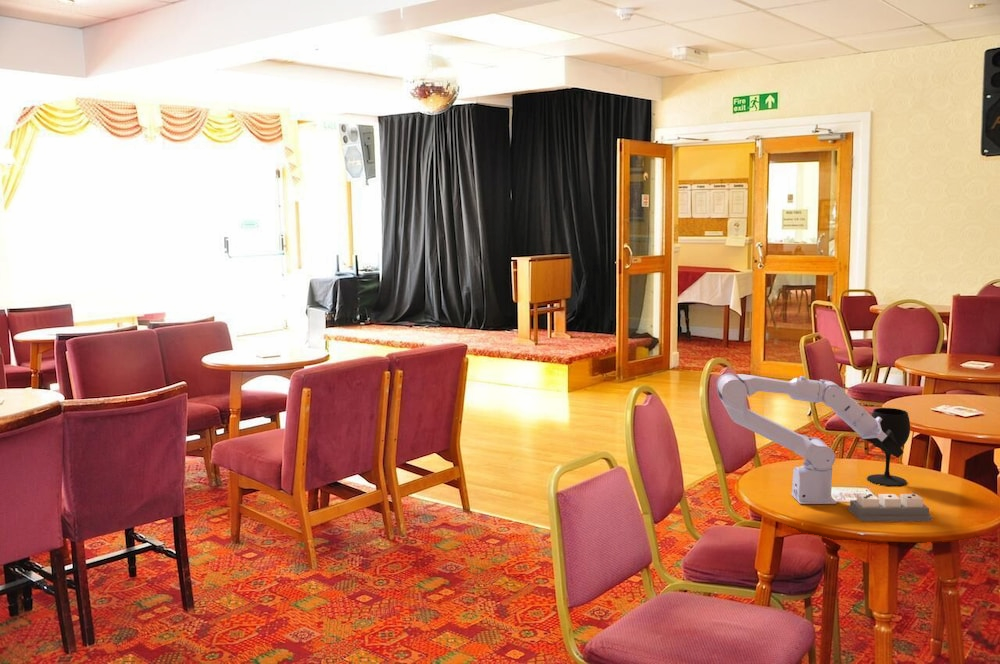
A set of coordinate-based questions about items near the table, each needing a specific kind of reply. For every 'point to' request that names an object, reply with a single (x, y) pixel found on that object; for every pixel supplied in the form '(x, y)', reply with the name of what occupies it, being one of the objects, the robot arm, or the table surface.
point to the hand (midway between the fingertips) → (894, 451)
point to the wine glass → (901, 430)
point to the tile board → (889, 513)
